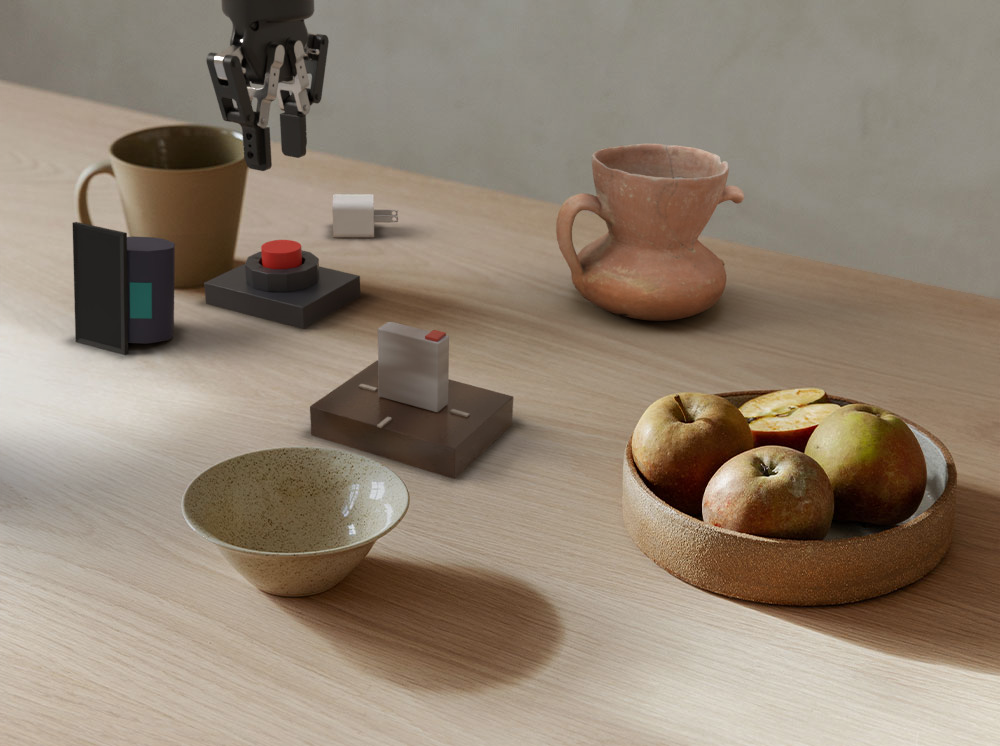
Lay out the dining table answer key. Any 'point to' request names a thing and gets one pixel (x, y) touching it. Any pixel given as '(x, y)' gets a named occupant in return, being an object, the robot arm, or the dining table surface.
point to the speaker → (122, 288)
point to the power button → (281, 254)
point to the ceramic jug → (649, 231)
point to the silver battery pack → (413, 366)
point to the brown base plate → (413, 423)
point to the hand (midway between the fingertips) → (276, 161)
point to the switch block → (283, 291)
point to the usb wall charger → (357, 216)
